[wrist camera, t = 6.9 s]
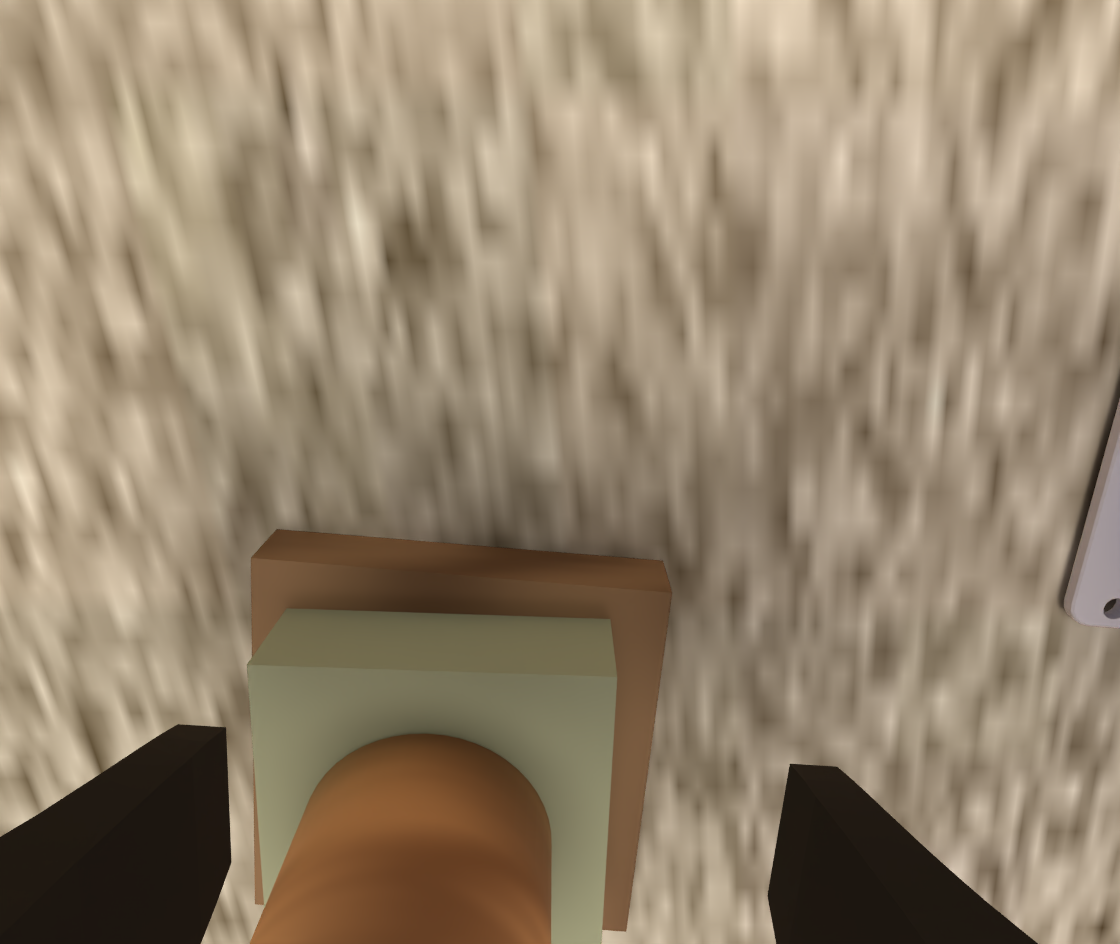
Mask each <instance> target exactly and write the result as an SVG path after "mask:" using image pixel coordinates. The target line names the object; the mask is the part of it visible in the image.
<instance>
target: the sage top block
mask: <svg viewBox="0 0 1120 944" xmlns="http://www.w3.org/2000/svg"><path fill="white" fill-rule="evenodd" d="M247 674H248V688H249V702H250V716H251V730H252V744H253V758H254V772H255V786H256V800H257V814H258V828H259V842H260V856H261V870H262V884H263V898H264V908H265V905H266V903H267V901H268V898H269V896H270V893H271V891H272V889H273V886H274V884H275V881H276V879H277V876H278V874H279V872H280V869H281V867H282V864H283V862H284V860H285V857H286V855H287V852H288V850H289V847H290V845H291V843H292V840H293V838H294V835H295V833H296V831H297V828H298V826H299V823H300V821H301V818H302V816H303V814H304V811H305V809H306V806H307V804H308V802H309V799H310V797H311V795H312V793H313V791H314V790H315V788H316V786H317V785H318V783H319V782H320V781H321V779H322V778H323V777H324V775H325V774H326V773H327V772H328V771H329V770H330V769H331V768H332V767H333V766H334V765H335V764H336V763H338V762H339V761H340V760H342V759H343V758H344V757H346V756H347V755H348V754H350V753H352V752H354V751H355V750H357V749H359V748H361V747H363V746H365V745H368V744H370V743H373V742H375V741H378V740H382V739H386V738H389V737H393V736H400V735H407V734H436V735H445V736H450V737H455V738H460V739H463V740H466V741H469V742H472V743H476V744H478V745H480V746H482V747H484V748H487V749H489V750H491V751H493V752H494V753H496V754H498V755H499V756H501V757H502V758H504V759H506V760H507V761H508V762H509V763H511V764H512V765H513V766H514V767H516V768H517V769H518V770H519V771H520V772H521V773H522V774H523V775H524V776H525V777H526V778H527V779H528V781H529V782H530V783H531V785H532V786H533V787H534V789H535V790H536V792H537V793H538V795H539V797H540V799H541V801H542V803H543V805H544V807H545V810H546V813H547V816H548V818H549V823H550V829H551V843H552V867H551V944H601V942H602V925H603V908H604V891H605V875H606V858H607V841H608V824H609V807H610V790H611V774H612V757H613V740H614V723H615V706H616V690H617V671H616V662H615V654H614V645H613V637H612V629H611V620H610V619H594V618H563V617H533V616H503V615H472V614H442V613H412V612H382V611H351V610H321V609H291V608H287V609H286V610H285V611H284V613H283V614H282V616H281V617H280V619H279V620H278V621H277V623H276V624H275V626H274V627H273V628H272V630H271V631H270V633H269V634H268V636H267V637H266V638H265V640H264V641H263V643H262V644H261V645H260V647H259V648H258V650H257V651H256V653H255V654H254V655H253V657H252V658H251V660H250V661H249V662H248V664H247Z"/></svg>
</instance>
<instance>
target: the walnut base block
mask: <svg viewBox="0 0 1120 944" xmlns="http://www.w3.org/2000/svg"><path fill="white" fill-rule="evenodd" d="M671 597H672V591H671V587H670V584H669V580H668V577H667V574H666V570H665V567H664V563H663V561H660V560H647V559H635V558H623V557H611V556H598V555H586V554H574V553H561V552H549V551H537V550H525V549H512V548H500V547H488V546H476V545H463V544H451V543H439V542H426V541H414V540H402V539H390V538H377V537H365V536H353V535H340V534H328V533H316V532H304V531H291V530H279V529H277V530H276V531H275V532H274V533H273V534H272V535H271V536H270V537H269V539H268V540H267V541H266V542H265V543H264V544H263V545H262V546H261V547H260V549H259V550H258V551H257V552H256V553H255V554H254V555H253V556H252V557H251V602H252V657H253V655H254V654H255V653H256V651H257V650H258V648H259V647H260V645H261V644H262V643H263V641H264V640H265V638H266V637H267V636H268V634H269V633H270V631H271V630H272V628H273V627H274V626H275V624H276V623H277V621H278V620H279V619H280V617H281V616H282V614H283V613H284V611H285V610H286V609H287V608H291V609H321V610H351V611H382V612H412V613H442V614H472V615H503V616H533V617H563V618H594V619H610V620H611V629H612V637H613V645H614V654H615V662H616V671H617V690H616V706H615V723H614V740H613V757H612V774H611V790H610V807H609V824H608V841H607V858H606V875H605V891H604V908H603V925H602V930H612V931H626V929H627V921H628V914H629V907H630V899H631V892H632V885H633V877H634V870H635V862H636V855H637V848H638V840H639V833H640V826H641V818H642V811H643V803H644V796H645V789H646V781H647V774H648V767H649V759H650V752H651V745H652V737H653V730H654V722H655V715H656V708H657V700H658V693H659V686H660V678H661V671H662V663H663V656H664V649H665V641H666V634H667V627H668V619H669V612H670V604H671ZM253 771H254V758H253ZM254 855H255V904H260V905H264V898H263V884H262V870H261V856H260V842H259V828H258V814H257V800H256V786H255V772H254Z"/></svg>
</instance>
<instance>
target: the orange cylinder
mask: <svg viewBox="0 0 1120 944" xmlns="http://www.w3.org/2000/svg"><path fill="white" fill-rule="evenodd" d="M551 867H552V843H551V829H550V823H549V818H548V816H547V813H546V810H545V807H544V805H543V803H542V801H541V799H540V797H539V795H538V793H537V792H536V790H535V789H534V787H533V786H532V785H531V783H530V782H529V781H528V779H527V778H526V777H525V776H524V775H523V774H522V773H521V772H520V771H519V770H518V769H517V768H516V767H514V766H513V765H512V764H511V763H509V762H508V761H507V760H506V759H504V758H502V757H501V756H499V755H498V754H496V753H494V752H493V751H491V750H489V749H487V748H484V747H482V746H480V745H478V744H476V743H472V742H469V741H466V740H463V739H460V738H455V737H450V736H445V735H436V734H407V735H400V736H393V737H389V738H386V739H382V740H378V741H375V742H373V743H370V744H368V745H365V746H363V747H361V748H359V749H357V750H355V751H354V752H352V753H350V754H348V755H347V756H346V757H344V758H343V759H342V760H340V761H339V762H338V763H336V764H335V765H334V766H333V767H332V768H331V769H330V770H329V771H328V772H327V773H326V774H325V775H324V777H323V778H322V779H321V781H320V782H319V783H318V785H317V786H316V788H315V790H314V791H313V793H312V795H311V797H310V799H309V802H308V804H307V806H306V809H305V811H304V814H303V816H302V818H301V821H300V823H299V826H298V828H297V831H296V833H295V835H294V838H293V840H292V843H291V845H290V847H289V850H288V852H287V855H286V857H285V860H284V862H283V864H282V867H281V869H280V872H279V874H278V876H277V879H276V881H275V884H274V886H273V889H272V891H271V893H270V896H269V898H268V901H267V903H266V905H265V908H264V910H263V913H262V915H261V918H260V920H259V922H258V925H257V927H256V930H255V932H254V934H253V937H252V939H251V942H250V944H551Z"/></svg>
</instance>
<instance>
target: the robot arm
mask: <svg viewBox="0 0 1120 944" xmlns="http://www.w3.org/2000/svg"><path fill="white" fill-rule="evenodd" d="M1112 599H1116V603H1115V605H1114V607H1113V608H1112V609H1110V610H1109V611H1105V612H1104V607H1105V605H1106V603H1107V602H1109V601H1110V600H1112ZM1064 608H1065V611H1066V613H1067V614H1068V615H1069V616H1071V617H1072V618H1073V619H1074V620H1075V621H1077V622H1078V623H1079V624H1083V625H1086V626H1096V627H1108V628H1120V399H1119V403H1118V407H1117V410H1116V414H1115V417H1114V421H1113V425H1112V428H1111V432H1110V436H1109V439H1108V443H1107V446H1106V450H1105V454H1104V457H1103V461H1102V464H1101V468H1100V472H1099V475H1098V479H1097V483H1096V486H1095V490H1094V493H1093V497H1092V501H1091V504H1090V508H1089V511H1088V515H1087V519H1086V522H1085V526H1084V529H1083V533H1082V537H1081V540H1080V544H1079V548H1078V551H1077V555H1076V558H1075V562H1074V566H1073V569H1072V573H1071V576H1070V580H1069V584H1068V587H1067V591H1066V595H1065V598H1064ZM230 865H231V842H230V817H229V792H228V767H227V742H226V727H210V726H195V725H179V724H178V725H176V726H174V727H173V728H171V729H169V730H167V731H166V732H164V733H162V734H161V735H159V736H158V737H156V738H154V739H153V740H151V741H150V742H148V743H147V744H145V745H144V746H142V747H140V748H139V749H137V750H136V751H134V752H133V753H131V754H130V755H128V756H127V757H125V758H124V759H122V760H121V761H119V762H118V763H116V764H115V765H113V766H112V767H110V768H109V769H107V770H106V771H104V772H103V773H101V774H100V775H98V776H97V777H95V778H93V779H92V780H90V781H89V782H87V783H86V784H84V785H83V786H81V787H80V788H78V789H76V790H75V791H73V792H72V793H70V794H69V795H67V796H66V797H64V798H63V799H61V800H59V801H58V802H56V803H55V804H53V805H52V806H50V807H49V808H47V809H46V810H44V811H43V812H41V813H39V814H38V815H36V816H35V817H33V818H31V819H30V820H28V821H26V822H25V823H23V824H21V825H19V826H18V827H16V828H14V829H13V830H11V831H9V832H8V833H6V834H4V835H3V836H1V837H0V944H200V943H201V941H202V939H203V937H204V934H205V931H206V929H207V926H208V924H209V921H210V919H211V916H212V914H213V911H214V908H215V906H216V903H217V900H218V898H219V895H220V892H221V889H222V887H223V884H224V881H225V878H226V876H227V873H228V870H229V867H230ZM768 900H769V906H770V911H771V917H772V922H773V928H774V933H775V939H776V944H1038V943H1036V942H1035V941H1034V940H1033V939H1031V938H1030V937H1029V936H1028V935H1026V934H1025V933H1024V932H1023V931H1022V930H1020V929H1019V928H1018V927H1017V926H1015V925H1014V924H1013V923H1012V922H1011V921H1009V920H1008V919H1007V918H1006V917H1004V916H1003V915H1002V914H1001V913H999V912H998V911H997V910H996V909H995V908H993V907H992V906H991V905H990V904H988V903H987V902H986V901H985V900H984V899H983V898H981V897H980V896H979V895H978V894H977V893H976V892H974V891H973V890H972V889H971V888H970V887H969V886H967V885H966V884H965V883H964V882H963V881H962V880H961V879H959V878H958V877H957V876H956V875H955V874H954V873H953V872H952V871H950V870H949V869H948V868H947V867H946V866H945V865H944V864H943V863H941V862H940V861H939V860H938V859H937V858H936V857H935V856H934V855H933V854H932V853H930V852H929V851H928V850H927V849H926V848H925V847H924V846H923V845H922V844H921V843H920V842H918V841H917V840H916V839H915V838H914V837H913V836H912V835H911V834H910V833H909V832H908V831H907V830H906V829H904V828H903V827H902V826H901V825H900V824H899V823H898V822H897V821H896V820H895V819H894V818H893V817H892V816H891V815H890V814H888V813H887V812H886V811H885V810H884V809H883V808H882V807H881V806H880V805H879V804H878V803H877V802H876V801H875V800H874V799H872V798H871V797H870V796H869V795H868V794H867V793H866V792H865V791H864V790H863V789H862V788H861V787H860V786H859V785H857V784H856V783H855V782H854V781H853V780H852V779H851V778H850V777H849V776H847V775H846V774H845V773H844V772H843V771H842V770H840V769H839V768H838V767H832V766H816V765H801V764H790V767H789V772H788V778H787V784H786V790H785V796H784V802H783V808H782V814H781V819H780V825H779V831H778V837H777V843H776V849H775V855H774V861H773V866H772V872H771V878H770V884H769V890H768Z"/></svg>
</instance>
